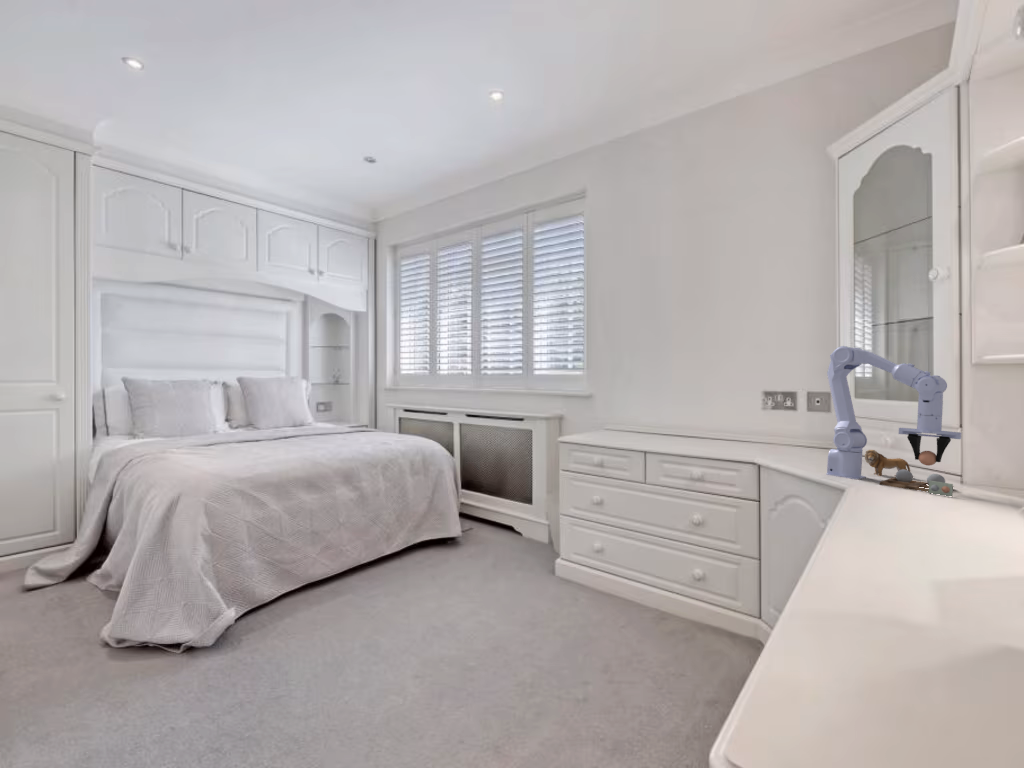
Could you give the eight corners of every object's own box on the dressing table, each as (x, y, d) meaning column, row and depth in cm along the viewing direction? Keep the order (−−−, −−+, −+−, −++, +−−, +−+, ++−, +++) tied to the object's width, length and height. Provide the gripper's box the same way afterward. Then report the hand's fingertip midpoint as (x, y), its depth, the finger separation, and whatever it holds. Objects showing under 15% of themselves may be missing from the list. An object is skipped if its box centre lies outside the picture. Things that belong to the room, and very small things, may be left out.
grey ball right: (924, 487, 158) (925, 473, 158) (928, 486, 160) (929, 472, 160) (943, 490, 154) (944, 475, 154) (946, 488, 157) (947, 474, 157)
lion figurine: (866, 476, 177) (867, 450, 177) (861, 473, 182) (862, 448, 182) (917, 480, 172) (918, 454, 172) (910, 477, 177) (911, 452, 177)
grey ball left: (893, 482, 164) (894, 468, 164) (897, 481, 167) (898, 467, 167) (910, 485, 160) (911, 471, 160) (914, 483, 163) (915, 470, 163)
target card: (928, 494, 148) (929, 480, 148) (928, 494, 149) (929, 480, 148) (951, 498, 144) (952, 484, 144) (952, 498, 145) (952, 483, 144)
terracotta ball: (916, 464, 154) (916, 450, 154) (920, 463, 156) (920, 449, 156) (935, 466, 150) (935, 452, 150) (938, 465, 153) (939, 451, 153)
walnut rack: (879, 485, 159) (879, 481, 159) (893, 480, 169) (893, 477, 169) (942, 495, 148) (943, 491, 148) (953, 490, 157) (954, 486, 157)
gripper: (896, 413, 156) (894, 458, 156) (958, 417, 145) (956, 465, 145) (903, 413, 161) (901, 456, 161) (963, 417, 150) (961, 463, 150)
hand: (927, 460), depth 153 cm, fingers closed on terracotta ball, 4 cm apart
